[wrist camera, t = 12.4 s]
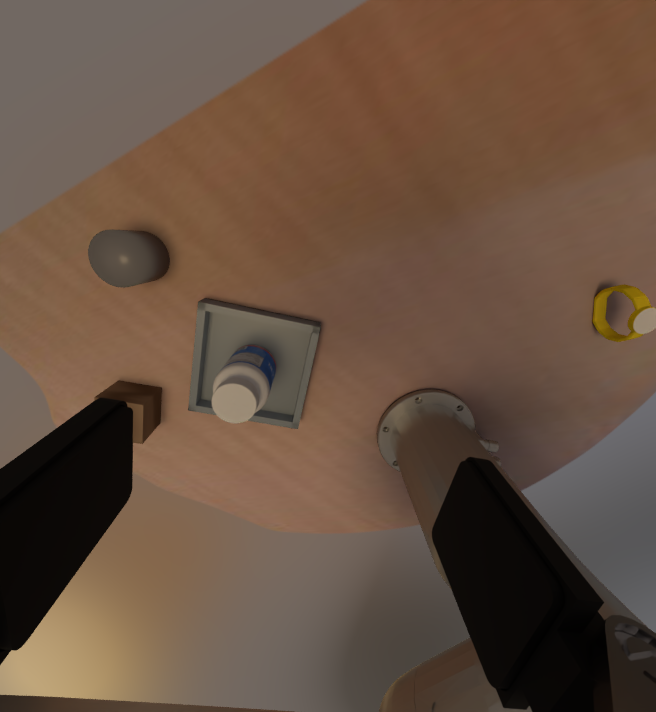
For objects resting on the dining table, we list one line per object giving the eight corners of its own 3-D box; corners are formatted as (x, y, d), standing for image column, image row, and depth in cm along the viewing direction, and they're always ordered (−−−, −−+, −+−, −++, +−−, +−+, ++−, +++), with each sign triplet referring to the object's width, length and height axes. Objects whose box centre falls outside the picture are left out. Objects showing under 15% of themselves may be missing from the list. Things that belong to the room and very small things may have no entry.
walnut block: (162, 387, 39) (143, 405, 34) (160, 422, 40) (142, 443, 36) (119, 380, 38) (94, 397, 34) (119, 416, 40) (95, 436, 35)
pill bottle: (273, 389, 38) (260, 436, 29) (228, 382, 38) (200, 427, 29) (280, 347, 37) (268, 382, 28) (233, 339, 36) (204, 372, 27)
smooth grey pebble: (170, 237, 33) (146, 236, 28) (168, 285, 35) (145, 292, 30) (120, 226, 32) (87, 223, 28) (120, 275, 34) (89, 281, 29)
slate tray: (320, 322, 37) (320, 327, 34) (298, 419, 41) (297, 429, 39) (205, 298, 35) (198, 301, 33) (194, 401, 39) (188, 410, 37)
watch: (606, 328, 39) (654, 347, 33) (583, 333, 39) (628, 352, 33) (614, 279, 36) (668, 290, 31) (589, 284, 36) (639, 296, 31)
